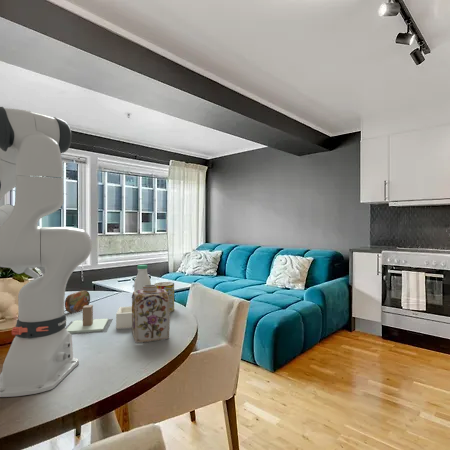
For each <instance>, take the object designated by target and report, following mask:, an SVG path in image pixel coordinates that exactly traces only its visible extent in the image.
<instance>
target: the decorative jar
mask: <svg viewBox="0 0 450 450" xmlns="http://www.w3.org/2000/svg"><path fill="white" fill-rule="evenodd" d="M169 301H170V300H169V296H168V293H167V291H166V290H164V289H158V288H157V286H156V285H154V284H151V285H144V286H143V289H140V290H136V291H133V292H132V295H131V306H132V328H131V330H132V336H133V338H134V341H135V343H137V344H138V343H149V342H155V341H163V340H164V339H165V340H169V339H170V324H171V322H170V314H171V312H170V309H169Z"/></svg>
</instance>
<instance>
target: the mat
mask: <svg viewBox="0 0 450 450" xmlns="http://www.w3.org/2000/svg"><path fill="white" fill-rule="evenodd" d="M112 321H113V318H110V319H109V318H108V322H107V324H106V326H105V328H104V330H103V331H96V332H81V333H70V334H71V335H72V336H73V335H86V334H89V335H90V334H100V333H103V334H104V333H107V332H108V330H109V328H110V327H111V324H112ZM72 322H73V321H70V323H68V324H67V325H66V327H65V328H66V329H67V328H68V327H69V326H70V325H71V324H72Z"/></svg>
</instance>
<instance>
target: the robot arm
mask: <svg viewBox="0 0 450 450" xmlns="http://www.w3.org/2000/svg"><path fill="white" fill-rule="evenodd" d="M72 136H73V135H72V129H71V126H70V125H69V124H68V122H67V121H65V120H63V119H61V118H59V117H56V116H53V117H51V116H48V115H45V114H42V113H39V112H38V113H36V112H32V111H30V110H24V109H18V108H5V107H3V106H0V201H1V200H2V199H3V197H4V196H5V195H6V194H8V193H9V192H10V191H12V190H13V189H14V188H15V201H14V205H13V204H3V205H0V268H8V269H11V270H12V271H13V273H16V274H18V275H20V274H23V273H24V274H25V275H27V276H29V277H31V278H32V280H30V281H28V282H27V283H26V284H25V283H24V285H23V286H22V287H21V288H20V290H19V292H18V297H17V298H18V305H17V306H18V313H17V315H18V318H17V319H16V323H15V326H14V327H12V329H11V335H12V336H14V338H13V340H12V342H11V344H10V347H9V349H8V351H7V354H6V356H5V359H4V362H3V364H2V369H1V370H2V371H1V372H0V398H7V397H8V398H9V397H21V396H29V395H34V394H39V393H40V394H41V393H44V392H48V391H50V390H53V389H54V388H56V386H57V385H59V384H60V382H62V381H63V380H64V379H65V377H67V376H68V375H69V374H70V373H71V372H72V371H73V370H74V369H75V368H76V367H77V366H78V365H79V364H80V360H79V359H78V358H75V357H74V351H73V349H74V348H73V335H71V334H70V333H69V332H68V331H67V330H66V327H67V316H66V315H67V314H66V312H65V299H66V297H65V295H66V289H67V288H66V287H67V284H68V281H69V280H70V277H71V275H72V274H73V272H74V271H75V270H76V269H77V268H78V267H79V266H80V265H81V264H83V263H84V262H85V261H86V260H87V259H88V258H89V257H90V255H91V253H92V248H93V243H92V239H91V236H90V235H89V233H88V232H87V231H86V230H85V229H81V228H76V227H72V226H71V227H70V226H44V227H43V226H42V227H41V226H39V225H38V222H39V221H40V220H41V219H42V218H44V217H47V216H48V215H49V216H50V215H51V214H53V213H56V212H57V211H59V210H60V209H61V207H62V206H63V204H64V168H63V160H62V154H64V153H66V152H67V151H68V150H69V149H70V147H71V144H72ZM33 269H38V270H39V271H40V272H41V274H42V275H40V273H39V272H36V271H34V270H33Z"/></svg>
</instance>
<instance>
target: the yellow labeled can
mask: <svg viewBox="0 0 450 450" xmlns="http://www.w3.org/2000/svg"><path fill="white" fill-rule="evenodd" d="M153 285H156V286H157V288H158V289H164V290H166V291H167V293H168V296H169V300H170V301H169V309H170V313H171V312H173V311H175V283H174V282H171V281H163V282H162V281H161V282H155V283H154V284H153Z"/></svg>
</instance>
